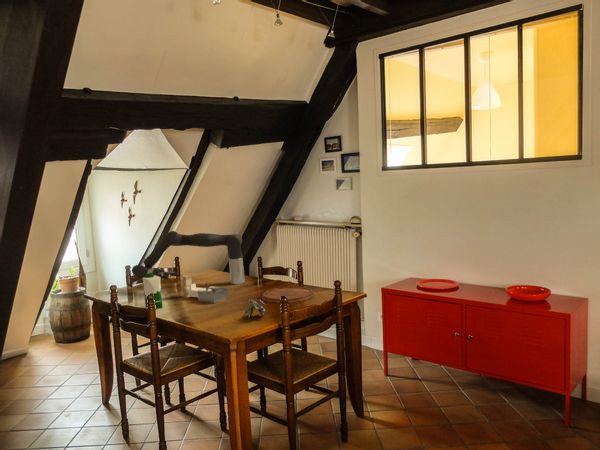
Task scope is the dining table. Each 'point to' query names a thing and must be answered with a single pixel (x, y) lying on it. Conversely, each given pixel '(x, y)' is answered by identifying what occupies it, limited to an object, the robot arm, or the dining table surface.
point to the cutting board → (288, 294)
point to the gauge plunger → (195, 290)
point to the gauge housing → (213, 294)
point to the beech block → (186, 285)
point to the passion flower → (255, 307)
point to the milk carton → (153, 288)
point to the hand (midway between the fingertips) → (173, 276)
